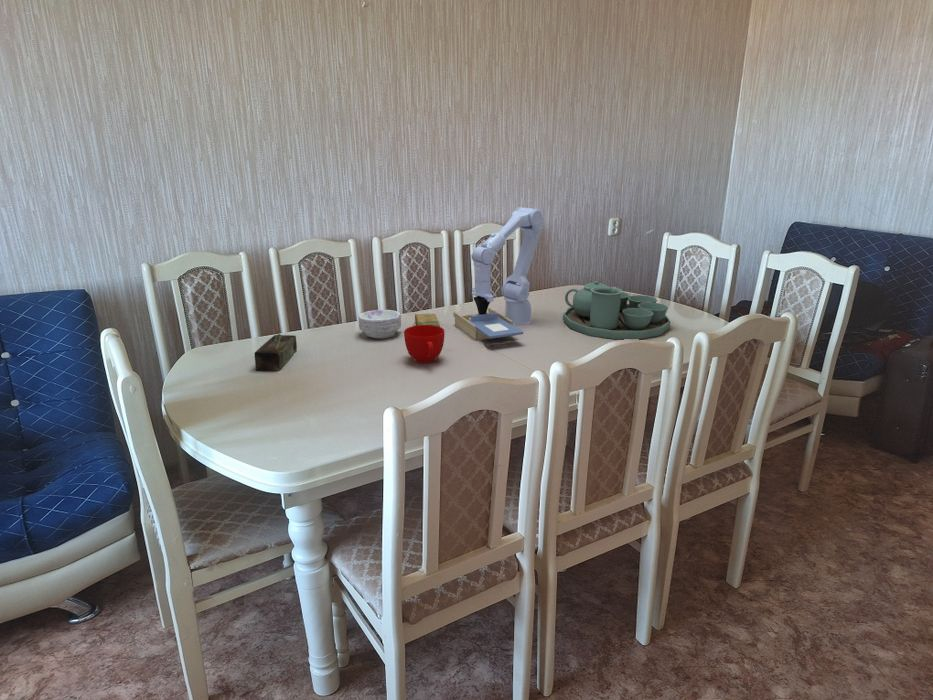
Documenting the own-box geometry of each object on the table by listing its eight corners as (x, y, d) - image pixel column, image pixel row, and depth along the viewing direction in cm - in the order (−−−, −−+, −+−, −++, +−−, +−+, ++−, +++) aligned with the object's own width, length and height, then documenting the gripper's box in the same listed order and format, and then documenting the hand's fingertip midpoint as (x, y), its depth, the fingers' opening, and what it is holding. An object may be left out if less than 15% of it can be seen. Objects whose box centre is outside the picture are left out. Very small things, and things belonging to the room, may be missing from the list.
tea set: (683, 340, 214) (689, 296, 209) (571, 340, 215) (574, 295, 209) (651, 310, 252) (655, 271, 246) (556, 310, 252) (558, 271, 246)
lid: (498, 318, 224) (498, 311, 223) (523, 334, 207) (523, 326, 206) (466, 322, 220) (466, 315, 219) (489, 338, 202) (490, 330, 201)
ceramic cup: (411, 373, 184) (410, 342, 181) (401, 355, 199) (400, 326, 196) (452, 369, 187) (451, 338, 184) (439, 351, 203) (439, 323, 199)
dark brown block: (298, 351, 203) (296, 332, 201) (280, 372, 185) (278, 352, 183) (275, 351, 204) (273, 332, 201) (254, 372, 186) (252, 352, 183)
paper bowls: (379, 326, 230) (378, 306, 227) (409, 333, 222) (409, 312, 219) (350, 336, 218) (349, 315, 215) (382, 344, 210) (381, 322, 207)
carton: (436, 323, 234) (435, 312, 233) (440, 336, 220) (440, 325, 218) (414, 324, 233) (414, 313, 232) (418, 337, 218) (417, 325, 217)
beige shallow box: (489, 322, 235) (489, 307, 233) (512, 336, 218) (513, 321, 216) (453, 326, 229) (453, 311, 227) (474, 342, 212) (474, 326, 210)
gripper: (464, 277, 222) (464, 312, 226) (480, 285, 209) (480, 322, 214) (482, 275, 224) (481, 310, 229) (499, 283, 212) (498, 320, 216)
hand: (482, 316), depth 222 cm, fingers closed
